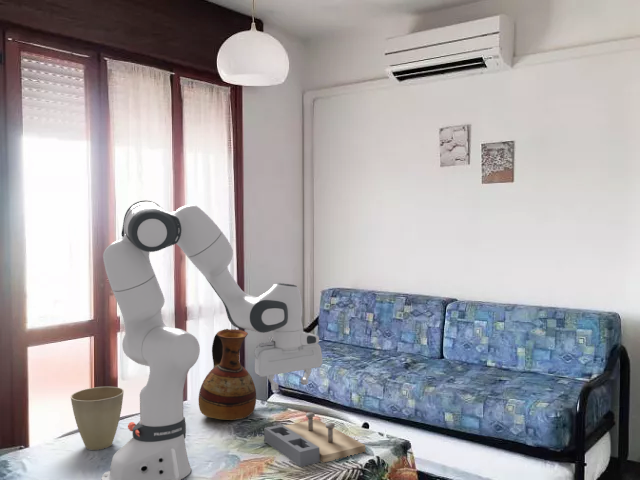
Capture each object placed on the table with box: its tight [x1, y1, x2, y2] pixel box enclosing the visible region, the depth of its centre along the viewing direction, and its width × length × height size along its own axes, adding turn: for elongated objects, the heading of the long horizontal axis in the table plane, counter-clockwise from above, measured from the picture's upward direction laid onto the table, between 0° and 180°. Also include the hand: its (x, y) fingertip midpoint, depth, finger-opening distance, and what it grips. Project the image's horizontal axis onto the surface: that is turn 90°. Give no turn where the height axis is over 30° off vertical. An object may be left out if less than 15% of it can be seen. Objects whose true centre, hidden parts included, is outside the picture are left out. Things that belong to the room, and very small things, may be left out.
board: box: [284, 411, 367, 464], centre depth 176 cm, size 14×28×7 cm, turn 30°
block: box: [263, 424, 321, 468], centre depth 170 cm, size 6×23×4 cm, turn 30°
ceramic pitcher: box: [198, 328, 257, 421], centre depth 203 cm, size 20×20×30 cm
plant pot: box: [70, 386, 124, 451], centre depth 177 cm, size 15×15×16 cm
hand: (289, 386), depth 169 cm, fingers open, 8 cm apart
